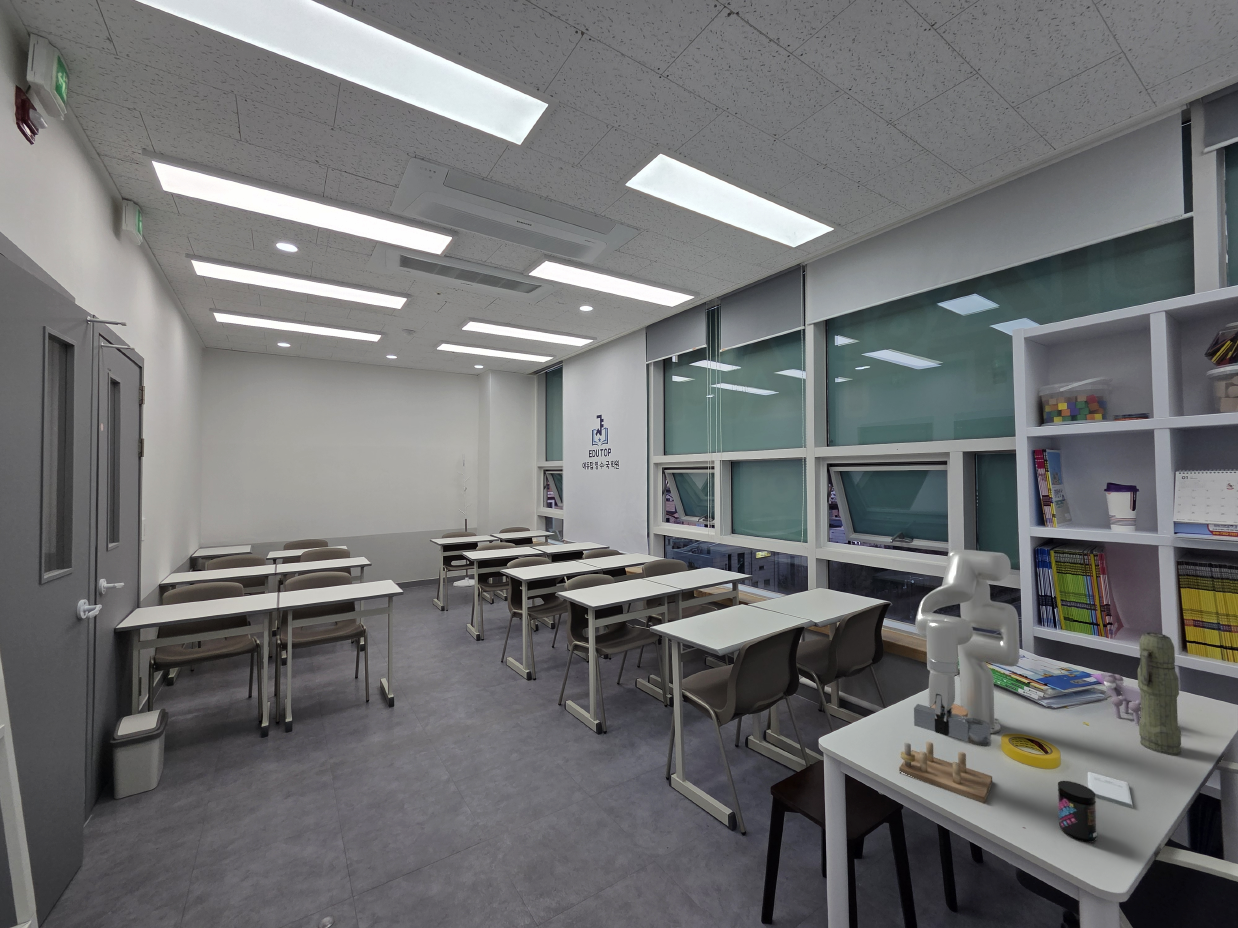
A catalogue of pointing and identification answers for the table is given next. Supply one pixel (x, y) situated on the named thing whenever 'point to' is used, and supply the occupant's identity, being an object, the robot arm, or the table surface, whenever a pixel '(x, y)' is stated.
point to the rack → (945, 773)
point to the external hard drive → (1110, 789)
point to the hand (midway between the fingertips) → (943, 730)
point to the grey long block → (955, 725)
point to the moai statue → (1158, 694)
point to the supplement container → (1077, 811)
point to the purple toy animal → (1121, 694)
